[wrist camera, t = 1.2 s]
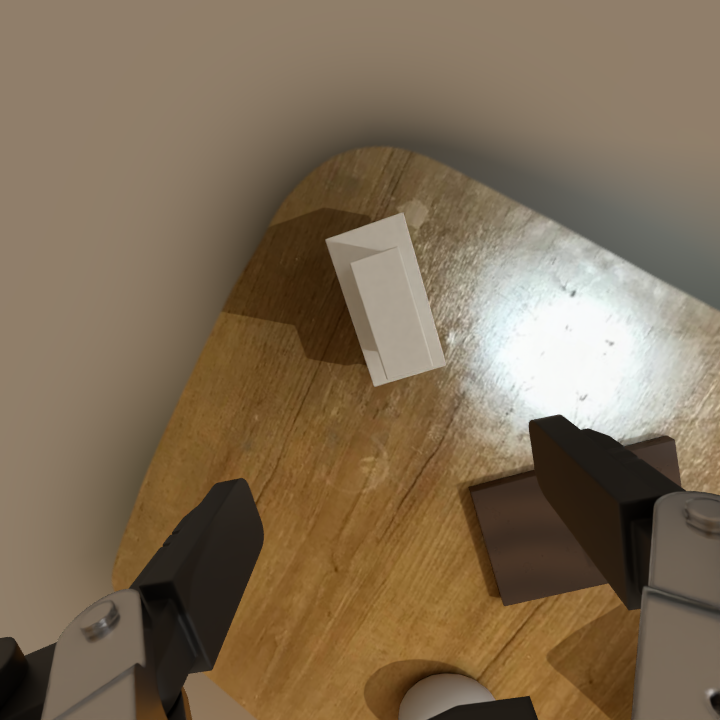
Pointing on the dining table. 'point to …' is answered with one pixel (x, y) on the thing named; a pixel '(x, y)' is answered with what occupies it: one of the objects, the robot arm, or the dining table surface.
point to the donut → (441, 696)
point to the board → (544, 532)
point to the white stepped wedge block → (386, 299)
